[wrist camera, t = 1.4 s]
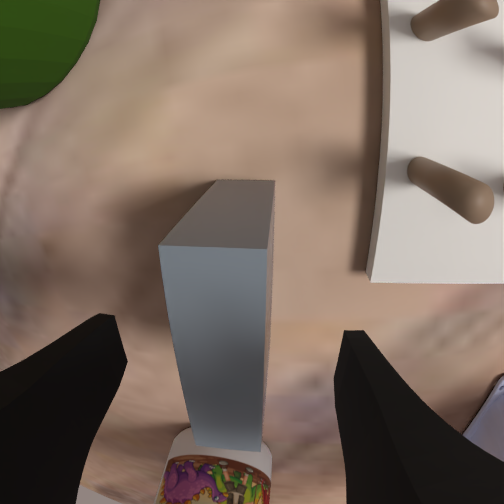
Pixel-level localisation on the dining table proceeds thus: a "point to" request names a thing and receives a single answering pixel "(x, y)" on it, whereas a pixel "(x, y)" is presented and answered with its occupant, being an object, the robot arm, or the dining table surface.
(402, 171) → the peg rack
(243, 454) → the milk bottle
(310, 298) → the dining table surface
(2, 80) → the wine bottle
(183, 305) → the slate grey rectangular block
